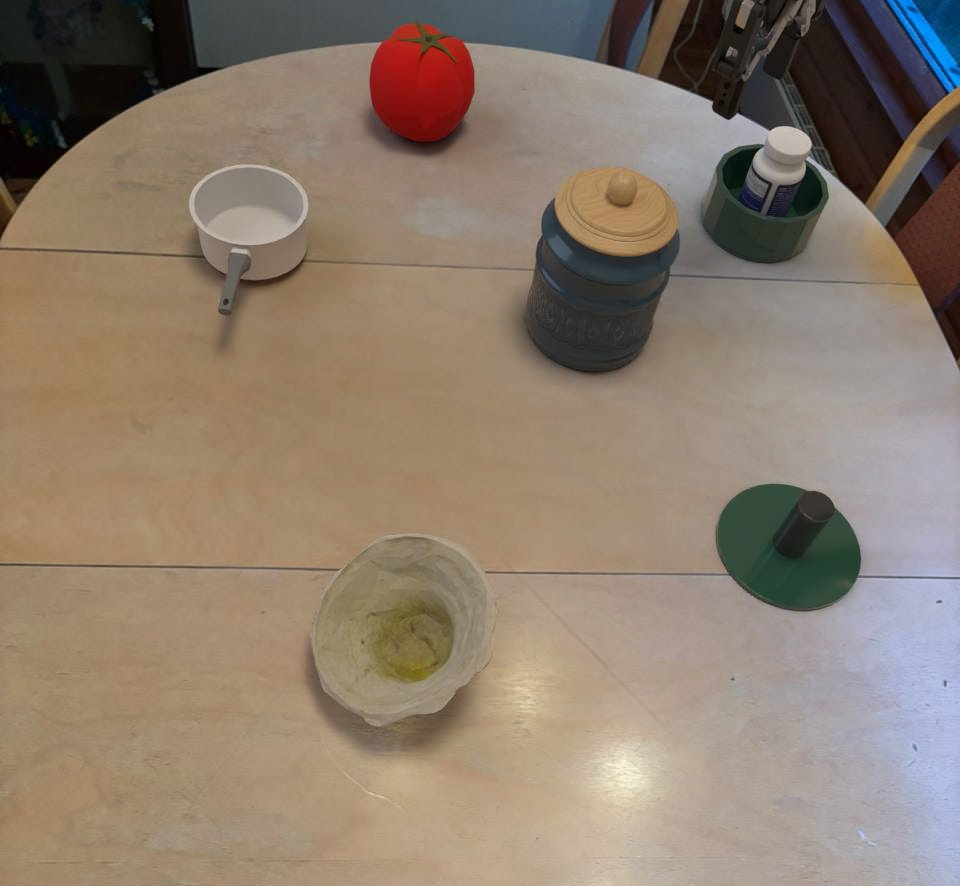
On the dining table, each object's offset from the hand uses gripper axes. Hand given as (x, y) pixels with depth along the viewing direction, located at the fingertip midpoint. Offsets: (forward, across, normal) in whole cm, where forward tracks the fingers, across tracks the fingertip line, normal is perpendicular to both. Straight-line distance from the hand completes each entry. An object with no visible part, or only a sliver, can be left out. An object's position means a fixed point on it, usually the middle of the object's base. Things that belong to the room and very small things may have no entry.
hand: (748, 94), depth 85 cm
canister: (+20, -15, +2) cm, 25 cm away
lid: (+19, -24, -28) cm, 41 cm away
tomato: (+20, -4, +35) cm, 41 cm away
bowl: (+20, -56, -10) cm, 60 cm away
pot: (+20, +12, -2) cm, 23 cm away
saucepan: (+20, -35, +31) cm, 51 cm away
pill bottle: (+20, +12, -2) cm, 23 cm away
